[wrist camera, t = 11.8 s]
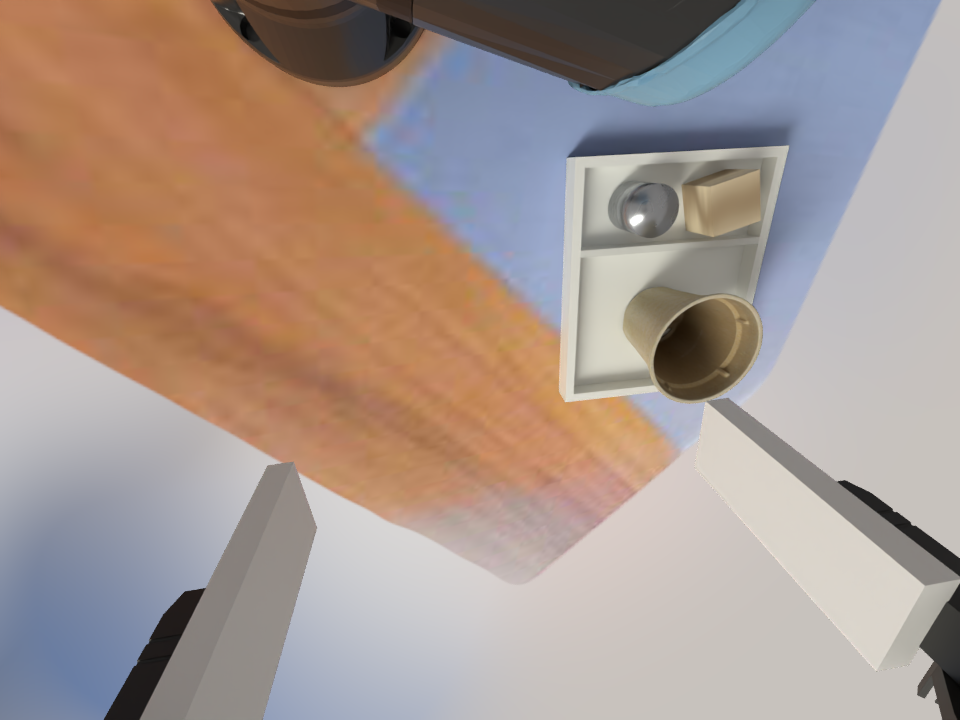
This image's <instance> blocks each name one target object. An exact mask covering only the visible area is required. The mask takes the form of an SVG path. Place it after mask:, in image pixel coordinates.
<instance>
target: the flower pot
mask: <svg viewBox="0 0 960 720" xmlns="http://www.w3.org/2000/svg"><path fill="white" fill-rule="evenodd" d="M668 328H670V329H671V330H670V331H669V332H668V333H667V334H666V335H664V336H662V335H663V333H664V332H665V331H666V330H667V329H668ZM623 332H624V334H625V336H626V338H627V339H628V341H629V342H630V343H631V344H632V345H633V347H634V348H635V349H636V350H637V352H638V353H639V354H640V356H641V357H642V358H643V360H644V361H645V362H646V364H647V365H648V368H649V372H650V376H651V379H652V381H653V383H654V385H655V387H656V388H657V389H658V390H659V391H660V392H661V393H662V394H663V395H664V396H666V397H667V398H669V399H671V400H673V401H676V402H680V403H687V404H691V403H700V402H706V401H709V400H712V399H714V398H717V397H719V396H721V395H723V394H724V393H726V392H727V391H729V390H731V389H732V388H733V387H734V386H736V385H737V384H738V383H739V382H740V381H741V380H742V379H743V377H745V375H746V374H747V373H748V371H749V370H750V369H751V367H752V366H753V364H754V362H755V361H756V359H757V356H758V354H759V351H760V348H761V345H762V337H763V327H762V321H761V318H760V316H759V314H758V312H757V311H756V309H755V308H754V307H753V306H752V305H751V304H750V303H749V302H748V301H746V300H745V299H743V298H741V297H738V296H736V295H732V294H724V293H717V294H710V295H697V294H692V293H688V292H683V291H679V290H675V289H671V288H668V287H654V288H649V289H647V290H644V291H643V292H641V293H639V294H638V295H637V296H636V297H635V298H634V299H633V300H632V301H631V302H630V303H629V305H628V306H627V308H626V310H625V312H624V320H623Z"/></svg>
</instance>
